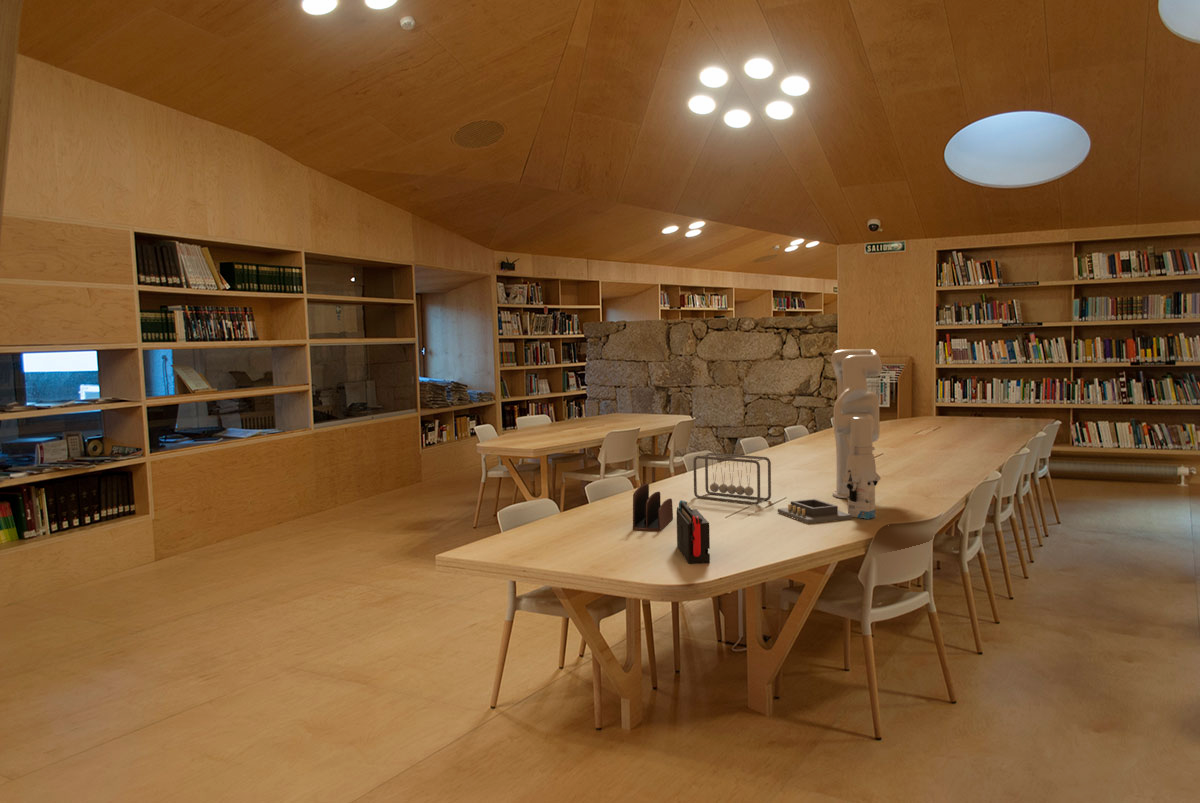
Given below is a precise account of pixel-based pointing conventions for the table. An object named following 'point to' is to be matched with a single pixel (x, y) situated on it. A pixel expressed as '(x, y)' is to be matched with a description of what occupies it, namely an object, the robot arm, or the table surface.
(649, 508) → the letter holder
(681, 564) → the table surface
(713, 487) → the newton's cradle
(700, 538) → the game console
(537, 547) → the table surface
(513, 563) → the table surface
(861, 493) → the ink box
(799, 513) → the dock board
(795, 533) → the table surface
